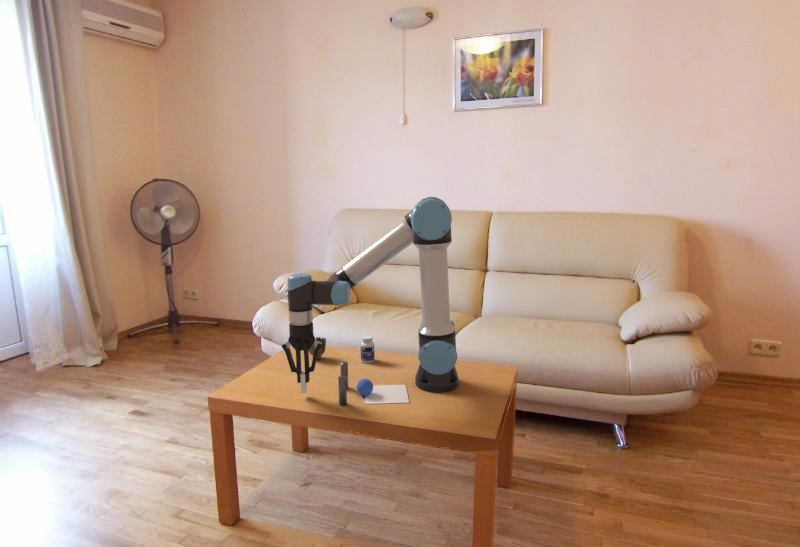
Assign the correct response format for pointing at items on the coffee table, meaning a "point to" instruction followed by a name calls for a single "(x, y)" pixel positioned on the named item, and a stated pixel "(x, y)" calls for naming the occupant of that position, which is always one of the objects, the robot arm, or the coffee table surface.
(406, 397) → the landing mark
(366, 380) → the ball
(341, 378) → the post
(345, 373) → the post
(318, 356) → the cup
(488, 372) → the coffee table surface
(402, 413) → the coffee table surface
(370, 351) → the pill bottle
